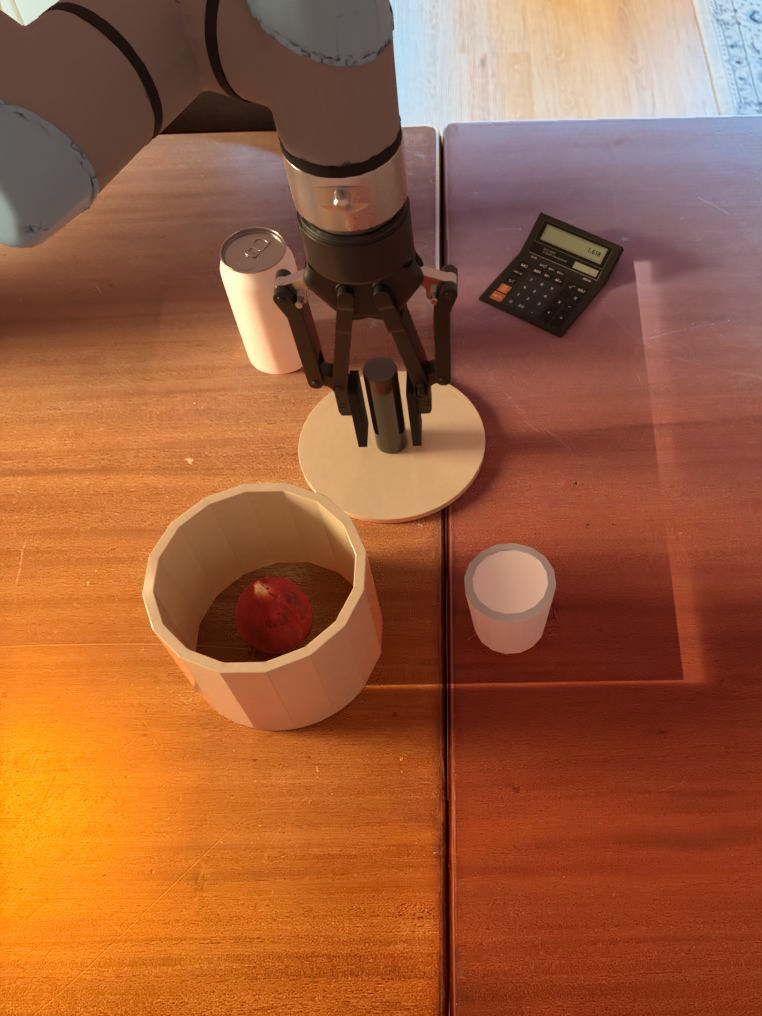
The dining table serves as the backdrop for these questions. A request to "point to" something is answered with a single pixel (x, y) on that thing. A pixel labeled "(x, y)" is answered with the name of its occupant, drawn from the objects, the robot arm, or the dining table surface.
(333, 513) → the pot
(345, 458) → the pot lid
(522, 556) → the shot glass
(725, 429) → the dining table surface
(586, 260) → the calculator
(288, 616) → the onion
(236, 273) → the can
